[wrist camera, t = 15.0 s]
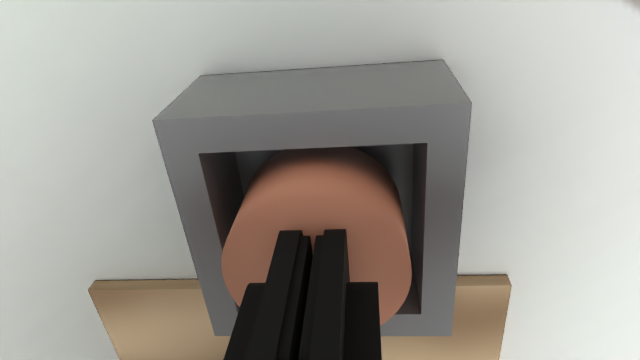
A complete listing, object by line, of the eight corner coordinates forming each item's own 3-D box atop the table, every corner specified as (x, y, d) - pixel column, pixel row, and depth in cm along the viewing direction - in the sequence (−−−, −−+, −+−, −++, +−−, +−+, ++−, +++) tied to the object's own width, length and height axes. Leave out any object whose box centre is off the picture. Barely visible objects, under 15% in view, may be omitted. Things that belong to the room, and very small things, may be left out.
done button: (401, 271, 15) (410, 342, 12) (259, 272, 16) (239, 341, 13) (402, 137, 13) (413, 191, 10) (233, 145, 13) (203, 198, 11)
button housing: (433, 257, 18) (451, 336, 14) (241, 260, 19) (214, 336, 15) (443, 59, 14) (471, 102, 10) (200, 75, 15) (152, 120, 11)
